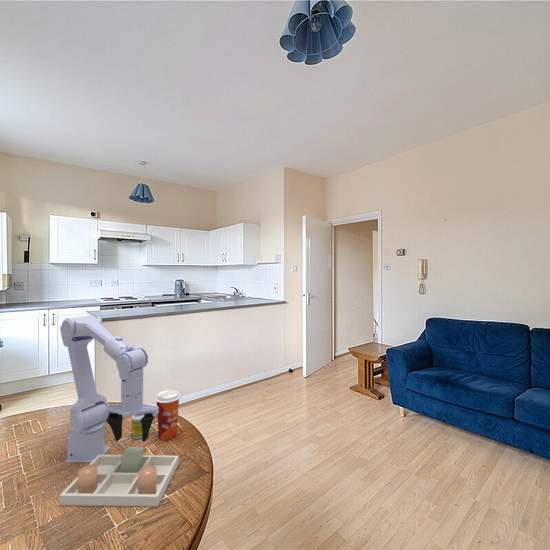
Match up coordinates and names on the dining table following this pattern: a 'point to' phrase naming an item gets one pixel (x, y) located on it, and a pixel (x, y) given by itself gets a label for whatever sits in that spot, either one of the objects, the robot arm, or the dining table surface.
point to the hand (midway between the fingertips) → (131, 439)
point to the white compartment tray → (121, 483)
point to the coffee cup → (167, 413)
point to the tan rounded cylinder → (88, 479)
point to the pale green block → (132, 460)
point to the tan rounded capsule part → (147, 480)
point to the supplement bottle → (137, 426)
